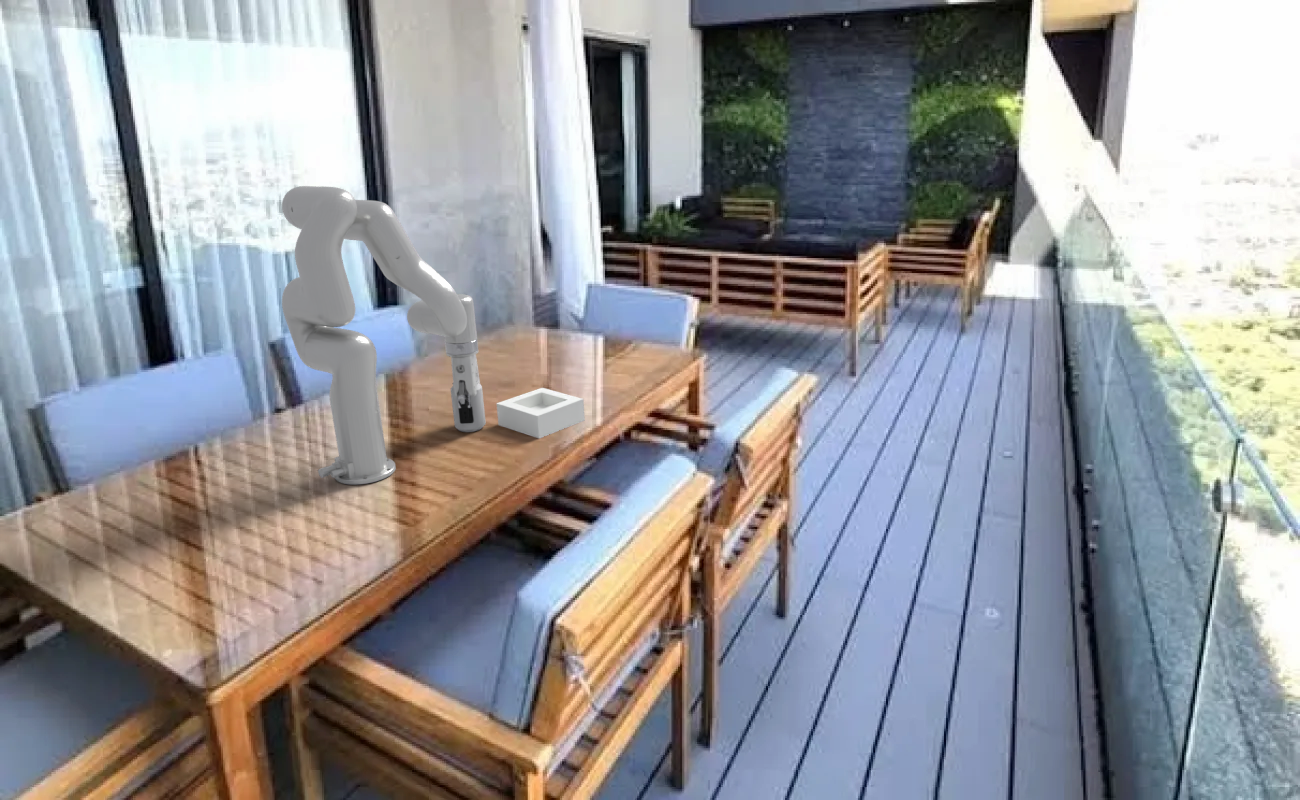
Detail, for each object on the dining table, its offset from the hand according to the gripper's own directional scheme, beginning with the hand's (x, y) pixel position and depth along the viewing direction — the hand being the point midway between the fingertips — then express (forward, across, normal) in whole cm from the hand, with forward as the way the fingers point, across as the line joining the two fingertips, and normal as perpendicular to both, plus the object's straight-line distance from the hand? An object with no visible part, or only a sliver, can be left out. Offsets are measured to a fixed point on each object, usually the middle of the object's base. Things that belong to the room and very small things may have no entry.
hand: (469, 416), depth 204 cm
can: (+3, 0, 0) cm, 3 cm away
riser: (+3, +1, -17) cm, 18 cm away
